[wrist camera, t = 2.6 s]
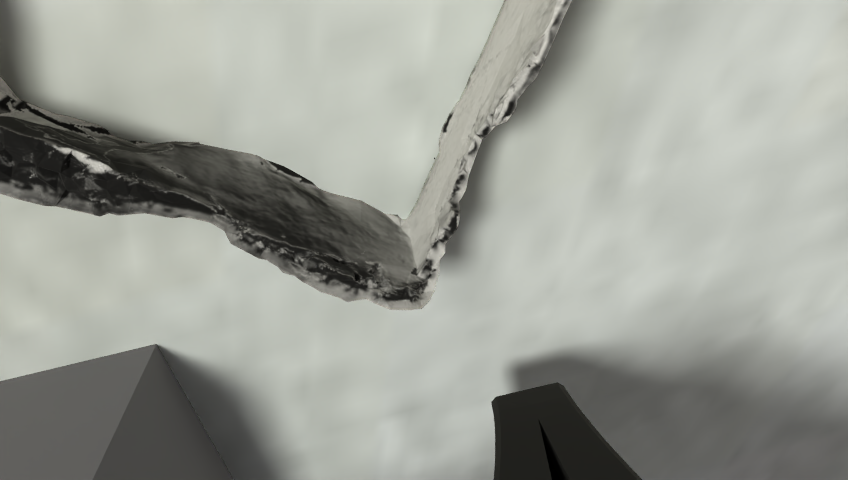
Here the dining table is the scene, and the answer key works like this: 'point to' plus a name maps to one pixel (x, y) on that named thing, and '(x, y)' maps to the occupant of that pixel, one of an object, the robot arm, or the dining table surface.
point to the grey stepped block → (104, 423)
